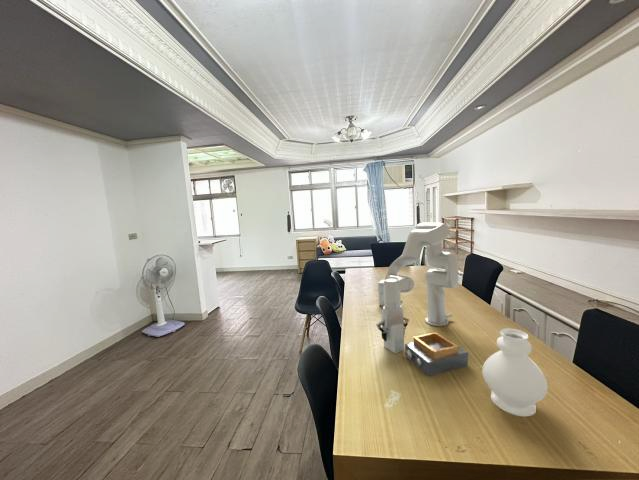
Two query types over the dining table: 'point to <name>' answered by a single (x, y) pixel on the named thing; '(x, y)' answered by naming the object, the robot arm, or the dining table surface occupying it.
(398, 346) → the small box
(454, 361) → the frame
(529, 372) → the decorative vase
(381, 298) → the supplement box
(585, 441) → the dining table surface
